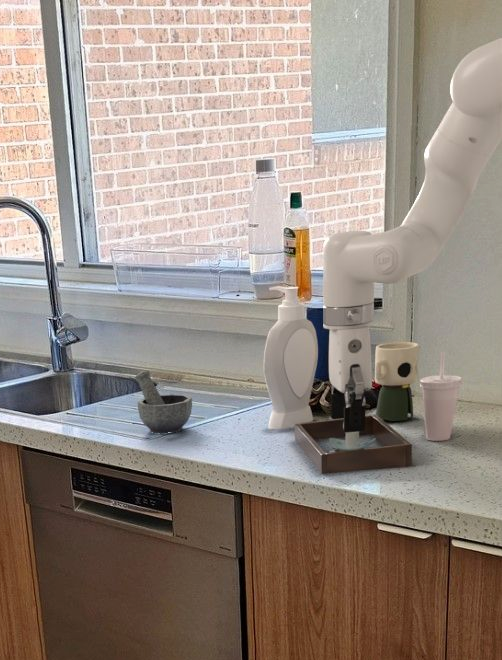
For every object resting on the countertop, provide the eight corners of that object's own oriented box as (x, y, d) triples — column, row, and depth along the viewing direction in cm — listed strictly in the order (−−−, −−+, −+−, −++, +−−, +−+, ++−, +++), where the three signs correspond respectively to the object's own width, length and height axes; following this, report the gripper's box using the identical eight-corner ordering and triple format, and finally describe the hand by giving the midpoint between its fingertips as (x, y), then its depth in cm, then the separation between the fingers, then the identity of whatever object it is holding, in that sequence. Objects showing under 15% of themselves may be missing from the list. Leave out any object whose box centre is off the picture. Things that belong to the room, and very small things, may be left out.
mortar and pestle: (202, 433, 226) (201, 368, 221) (172, 445, 220) (169, 378, 216) (154, 428, 234) (152, 365, 229) (123, 439, 228) (120, 375, 223)
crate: (376, 434, 208) (376, 414, 207) (411, 466, 187) (412, 444, 186) (295, 443, 209) (294, 423, 208) (321, 476, 189) (321, 454, 188)
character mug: (392, 429, 210) (395, 352, 205) (357, 424, 215) (359, 349, 210) (430, 415, 215) (434, 341, 210) (396, 411, 221) (399, 338, 215)
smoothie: (419, 443, 198) (423, 356, 193) (415, 434, 204) (419, 349, 198) (461, 441, 197) (466, 353, 191) (456, 432, 202) (461, 346, 197)
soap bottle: (296, 416, 228) (296, 280, 218) (327, 421, 222) (329, 282, 212) (244, 430, 222) (242, 291, 212) (275, 435, 216) (274, 293, 206)
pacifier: (368, 460, 194) (377, 450, 199) (369, 422, 192) (378, 412, 196) (322, 459, 198) (332, 448, 203) (322, 421, 195) (332, 411, 200)
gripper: (386, 321, 181) (384, 434, 188) (360, 305, 197) (359, 410, 204) (335, 326, 182) (335, 439, 189) (312, 311, 198) (313, 415, 205)
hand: (347, 424), depth 197 cm, fingers open, 9 cm apart
